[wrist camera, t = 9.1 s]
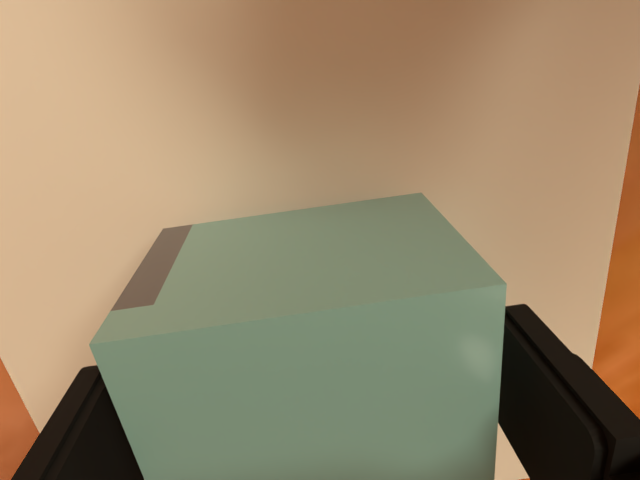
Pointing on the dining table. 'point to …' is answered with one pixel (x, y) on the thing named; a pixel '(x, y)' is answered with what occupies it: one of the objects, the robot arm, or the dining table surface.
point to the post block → (303, 144)
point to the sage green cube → (310, 348)
